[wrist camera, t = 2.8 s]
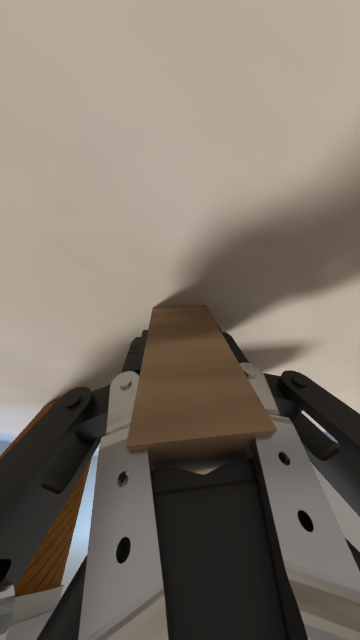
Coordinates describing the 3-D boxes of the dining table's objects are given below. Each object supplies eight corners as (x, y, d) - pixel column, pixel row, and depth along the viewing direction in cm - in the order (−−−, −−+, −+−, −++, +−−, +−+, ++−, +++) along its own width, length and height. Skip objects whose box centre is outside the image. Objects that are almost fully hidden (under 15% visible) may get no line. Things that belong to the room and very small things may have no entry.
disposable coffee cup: (2, 398, 14) (-448, 838, 4) (95, 383, 14) (-97, 778, 4) (57, 436, 19) (-73, 673, 9) (126, 425, 19) (78, 647, 9)
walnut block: (152, 307, 10) (125, 446, 3) (205, 305, 11) (276, 429, 4) (157, 348, 12) (147, 485, 6) (201, 345, 13) (243, 472, 6)
